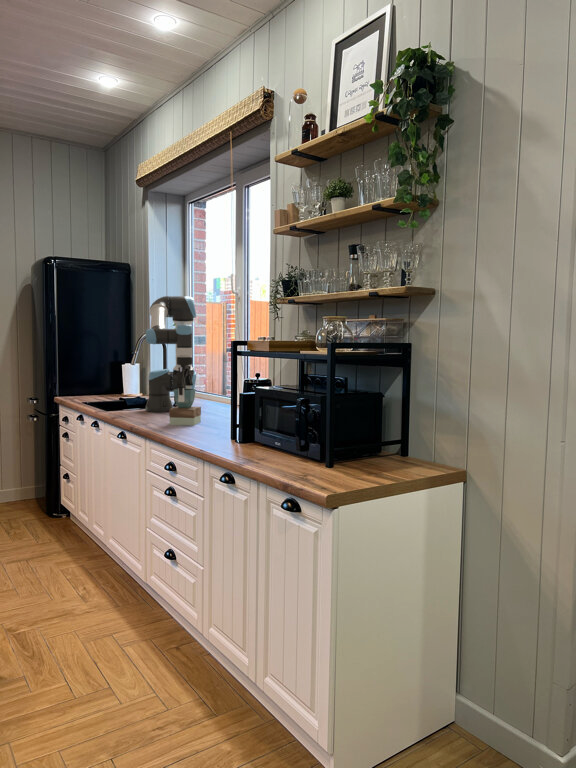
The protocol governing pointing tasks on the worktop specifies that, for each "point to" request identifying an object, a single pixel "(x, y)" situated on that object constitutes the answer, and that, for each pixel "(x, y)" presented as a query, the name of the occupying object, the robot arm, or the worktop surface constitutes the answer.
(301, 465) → the worktop surface
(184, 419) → the tower base
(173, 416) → the tower top
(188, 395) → the flower pot
